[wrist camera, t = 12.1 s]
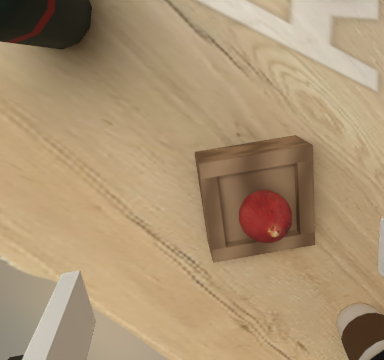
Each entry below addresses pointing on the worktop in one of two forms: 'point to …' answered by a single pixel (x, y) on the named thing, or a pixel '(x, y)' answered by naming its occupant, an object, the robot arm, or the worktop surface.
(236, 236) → the walnut tray
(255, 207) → the pomegranate
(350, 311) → the coffee cup
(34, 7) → the wine bottle
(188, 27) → the worktop surface
